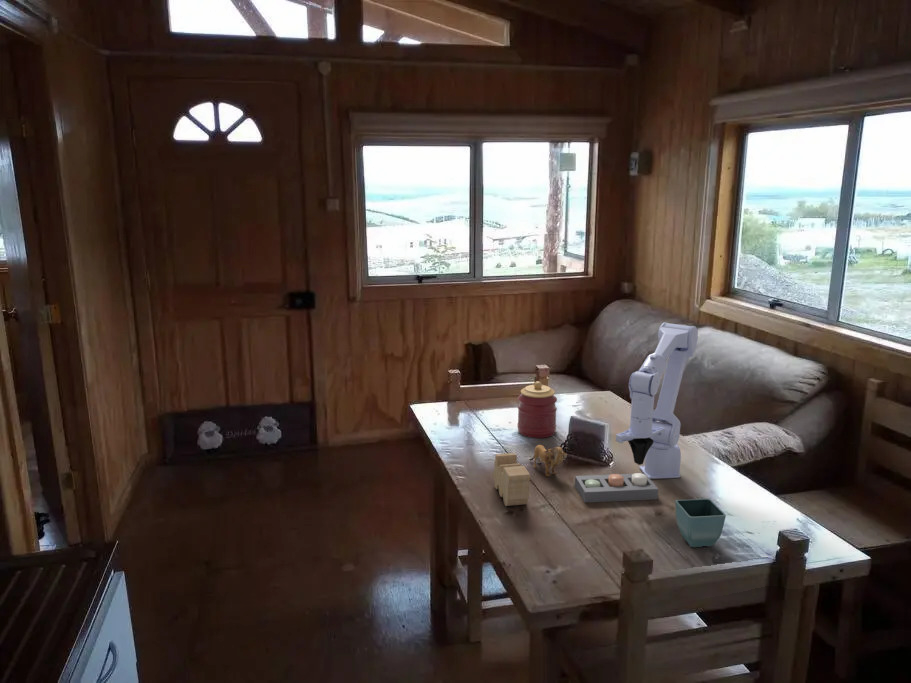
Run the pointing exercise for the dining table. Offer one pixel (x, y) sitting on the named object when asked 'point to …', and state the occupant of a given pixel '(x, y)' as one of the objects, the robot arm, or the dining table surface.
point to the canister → (537, 411)
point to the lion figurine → (548, 457)
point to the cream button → (639, 479)
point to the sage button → (592, 483)
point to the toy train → (511, 479)
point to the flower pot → (699, 521)
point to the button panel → (615, 489)
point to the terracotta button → (615, 480)
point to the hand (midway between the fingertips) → (638, 463)
